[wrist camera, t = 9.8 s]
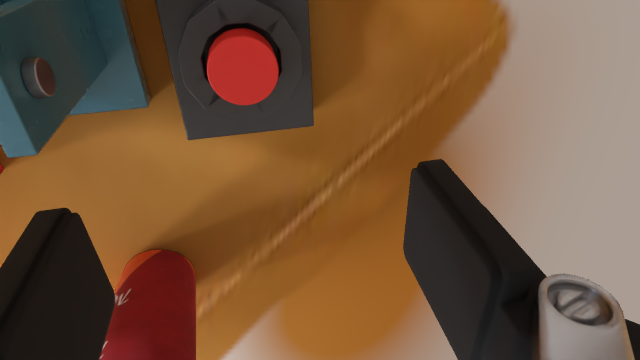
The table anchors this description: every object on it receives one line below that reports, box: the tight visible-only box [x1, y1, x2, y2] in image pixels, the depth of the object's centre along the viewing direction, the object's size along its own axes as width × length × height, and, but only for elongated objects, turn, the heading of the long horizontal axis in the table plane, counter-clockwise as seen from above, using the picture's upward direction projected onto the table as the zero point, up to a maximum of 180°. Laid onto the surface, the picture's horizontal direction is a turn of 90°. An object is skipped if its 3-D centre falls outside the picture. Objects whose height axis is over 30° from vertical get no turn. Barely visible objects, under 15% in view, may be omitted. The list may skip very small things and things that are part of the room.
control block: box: [155, 0, 314, 140], centre depth 24 cm, size 10×8×4 cm
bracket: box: [0, 0, 151, 158], centre depth 18 cm, size 10×8×12 cm
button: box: [207, 28, 279, 105], centre depth 22 cm, size 4×4×2 cm
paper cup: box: [99, 250, 196, 360], centre depth 28 cm, size 8×8×14 cm
